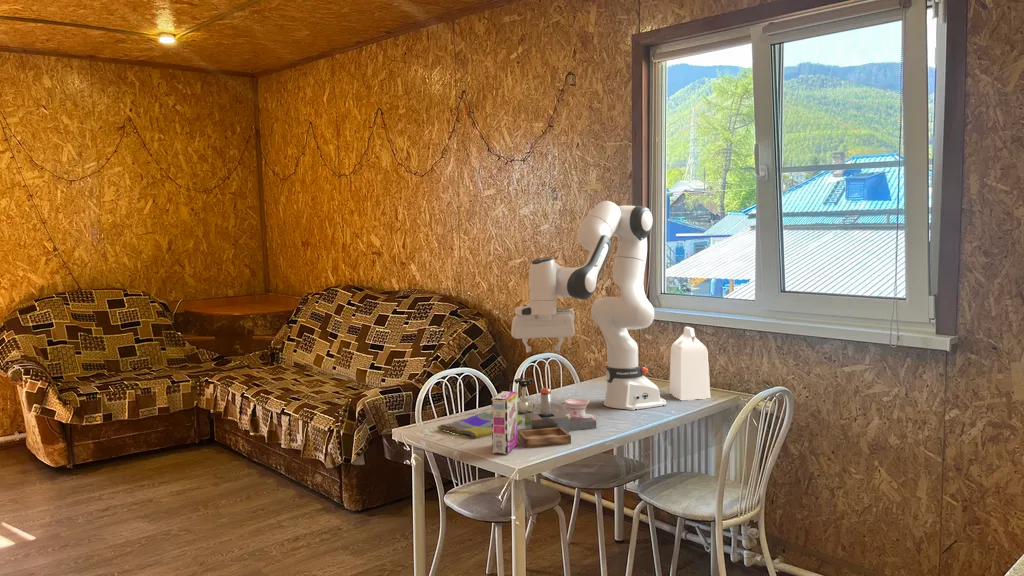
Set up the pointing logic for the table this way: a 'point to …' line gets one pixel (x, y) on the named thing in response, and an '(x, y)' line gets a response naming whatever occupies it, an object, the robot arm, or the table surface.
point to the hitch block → (557, 422)
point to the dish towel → (472, 426)
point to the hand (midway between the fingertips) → (543, 351)
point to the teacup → (577, 408)
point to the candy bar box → (504, 422)
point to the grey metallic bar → (545, 402)
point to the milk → (689, 368)
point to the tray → (544, 437)
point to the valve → (524, 396)
